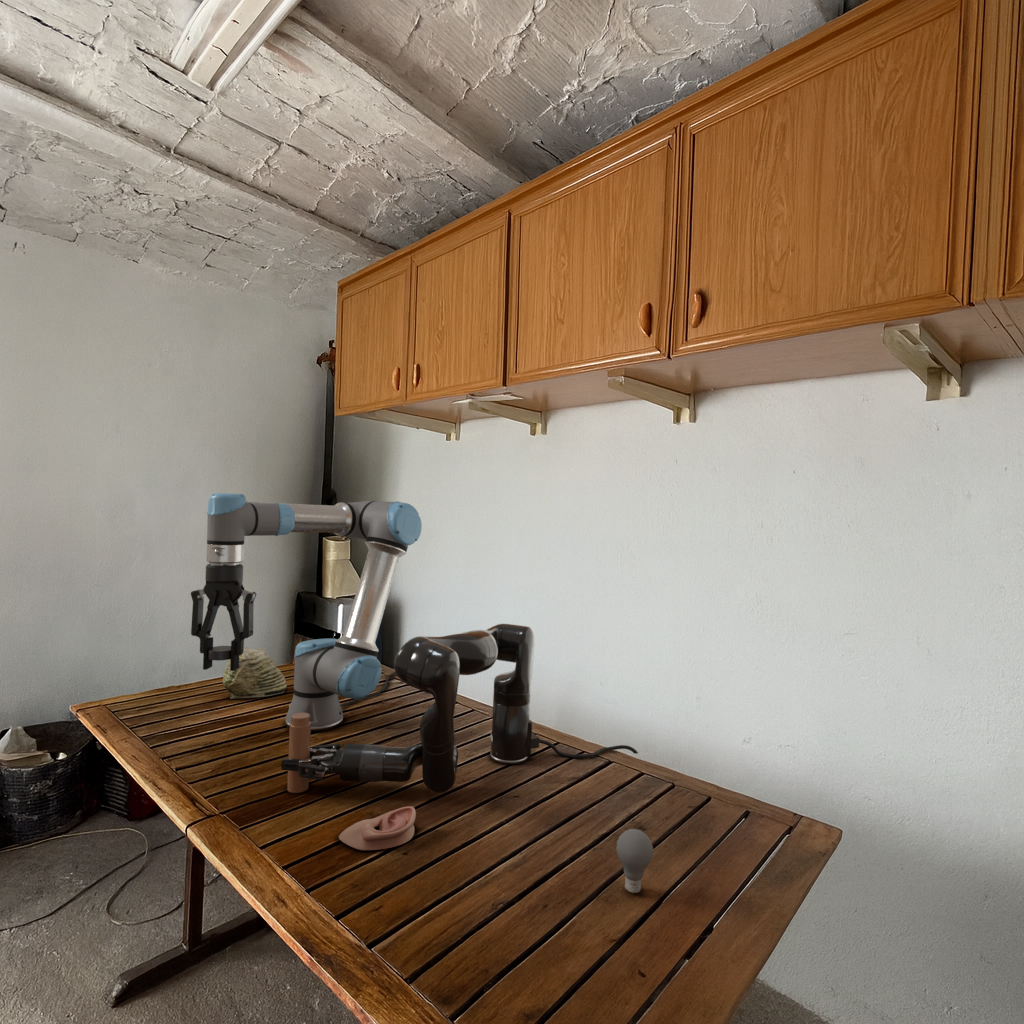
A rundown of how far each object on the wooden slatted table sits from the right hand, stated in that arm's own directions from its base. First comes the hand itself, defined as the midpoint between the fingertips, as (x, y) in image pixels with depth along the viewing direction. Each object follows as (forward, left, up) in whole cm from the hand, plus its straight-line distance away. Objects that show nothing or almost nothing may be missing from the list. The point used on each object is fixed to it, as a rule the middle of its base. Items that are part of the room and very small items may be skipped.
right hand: (286, 759), depth 137 cm
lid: (+13, -9, +23) cm, 28 cm away
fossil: (+3, -69, -6) cm, 69 cm away
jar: (-2, +1, -6) cm, 7 cm away
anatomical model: (-14, +26, -6) cm, 30 cm away
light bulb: (-49, +58, -6) cm, 76 cm away
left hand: (+13, -9, +18) cm, 25 cm away
